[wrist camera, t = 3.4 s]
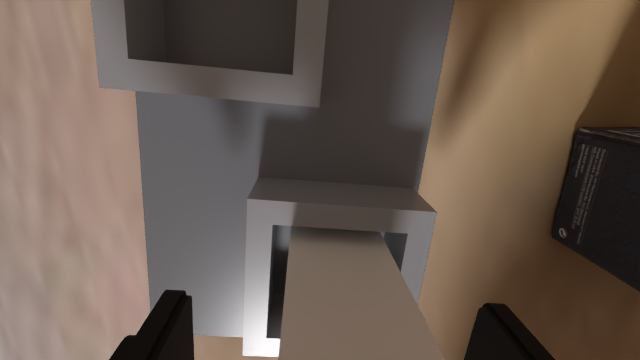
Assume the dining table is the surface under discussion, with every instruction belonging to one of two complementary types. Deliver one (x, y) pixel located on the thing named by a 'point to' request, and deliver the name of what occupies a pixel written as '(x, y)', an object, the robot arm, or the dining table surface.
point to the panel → (273, 138)
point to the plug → (349, 301)
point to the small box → (603, 201)
